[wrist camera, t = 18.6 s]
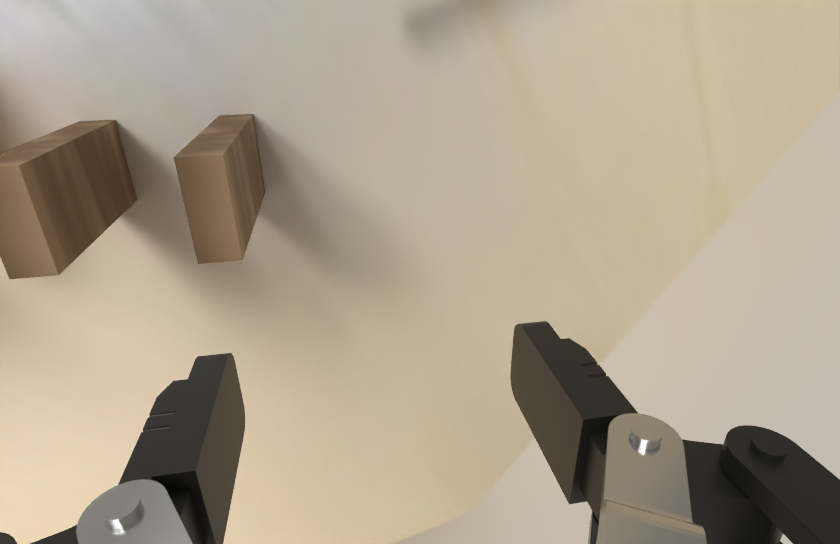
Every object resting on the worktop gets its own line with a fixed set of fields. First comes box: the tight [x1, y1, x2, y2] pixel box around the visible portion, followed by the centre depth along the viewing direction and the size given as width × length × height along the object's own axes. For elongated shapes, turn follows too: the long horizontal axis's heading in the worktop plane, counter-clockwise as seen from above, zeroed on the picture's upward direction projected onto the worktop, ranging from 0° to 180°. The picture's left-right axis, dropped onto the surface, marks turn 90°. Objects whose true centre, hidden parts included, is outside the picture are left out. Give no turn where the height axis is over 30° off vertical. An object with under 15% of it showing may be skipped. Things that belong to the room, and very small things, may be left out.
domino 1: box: [0, 120, 137, 279], centre depth 27 cm, size 2×5×11 cm, turn 1°
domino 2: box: [174, 114, 265, 264], centre depth 28 cm, size 2×5×11 cm, turn 1°
